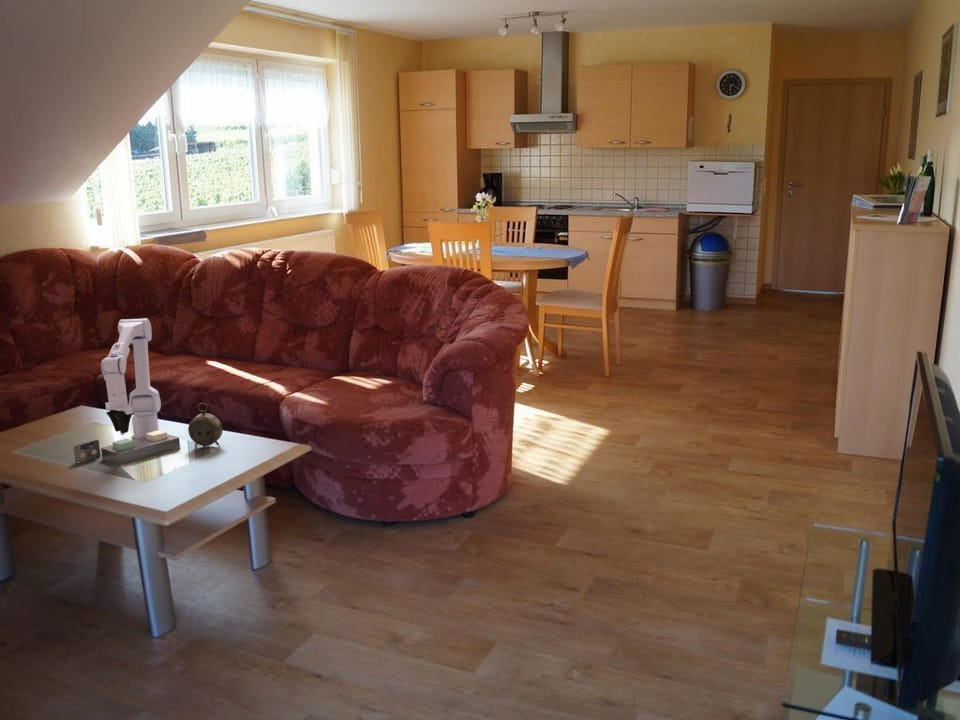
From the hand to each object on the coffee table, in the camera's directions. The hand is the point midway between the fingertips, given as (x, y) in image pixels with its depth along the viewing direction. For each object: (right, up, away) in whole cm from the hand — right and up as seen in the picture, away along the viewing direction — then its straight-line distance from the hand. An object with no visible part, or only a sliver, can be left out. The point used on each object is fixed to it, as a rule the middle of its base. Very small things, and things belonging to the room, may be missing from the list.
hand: (121, 431), depth 290 cm
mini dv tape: (-12, -10, +2) cm, 16 cm away
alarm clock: (+25, -7, +11) cm, 28 cm away
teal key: (0, -7, +2) cm, 7 cm away
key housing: (+4, -8, +6) cm, 11 cm away
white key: (+8, -5, +10) cm, 14 cm away
